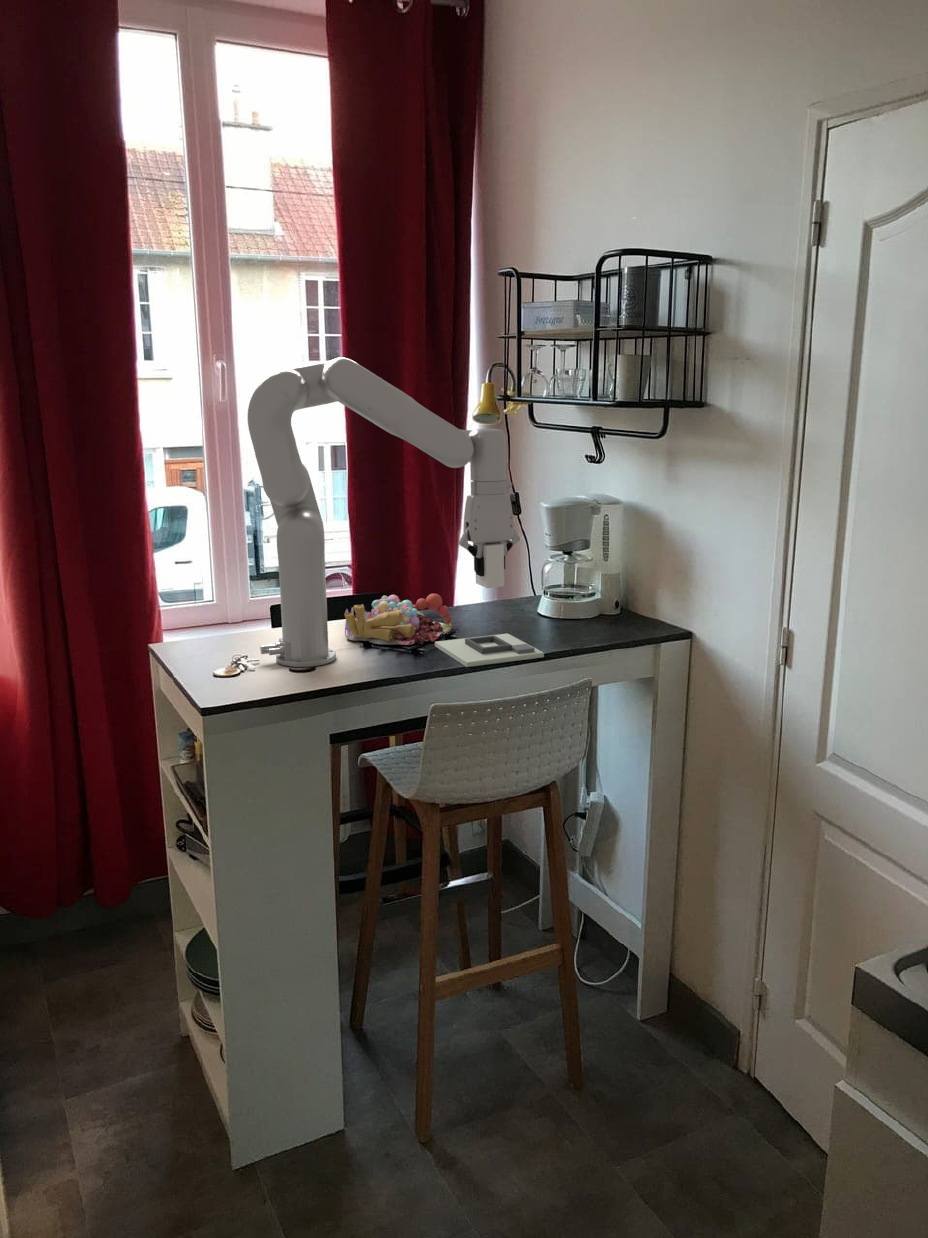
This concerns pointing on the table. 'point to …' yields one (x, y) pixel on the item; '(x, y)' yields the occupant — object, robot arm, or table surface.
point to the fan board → (488, 650)
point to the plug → (492, 566)
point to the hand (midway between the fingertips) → (489, 573)
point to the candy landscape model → (397, 621)
